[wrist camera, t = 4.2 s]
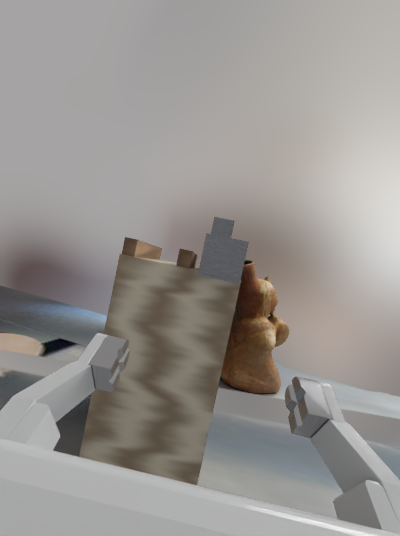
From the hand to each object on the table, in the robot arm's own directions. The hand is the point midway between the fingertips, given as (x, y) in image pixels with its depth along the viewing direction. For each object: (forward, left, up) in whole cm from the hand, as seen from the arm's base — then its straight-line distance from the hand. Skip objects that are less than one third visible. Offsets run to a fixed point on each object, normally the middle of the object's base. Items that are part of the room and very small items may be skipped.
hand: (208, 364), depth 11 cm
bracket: (0, -15, +4) cm, 15 cm away
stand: (+4, -21, -22) cm, 31 cm away
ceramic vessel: (-12, -44, -22) cm, 51 cm away
